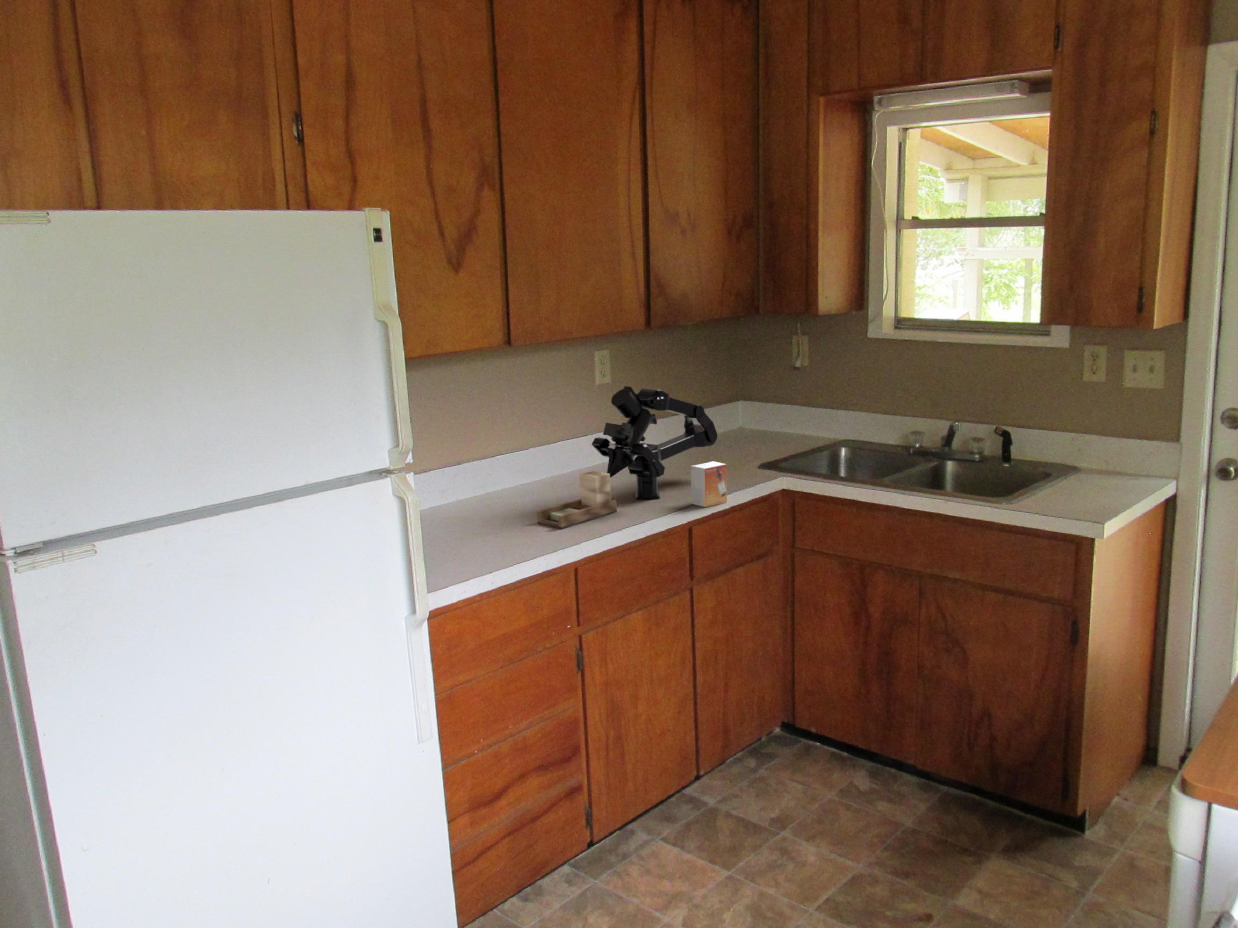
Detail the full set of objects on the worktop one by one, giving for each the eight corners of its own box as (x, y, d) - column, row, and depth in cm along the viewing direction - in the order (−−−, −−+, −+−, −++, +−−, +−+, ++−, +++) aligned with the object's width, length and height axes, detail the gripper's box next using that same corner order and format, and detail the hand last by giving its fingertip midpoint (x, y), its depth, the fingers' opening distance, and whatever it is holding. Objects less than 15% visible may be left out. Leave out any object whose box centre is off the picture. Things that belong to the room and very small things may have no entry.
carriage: (594, 500, 274) (593, 470, 272) (611, 503, 270) (609, 473, 268) (581, 504, 270) (579, 474, 269) (597, 507, 266) (596, 477, 265)
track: (592, 507, 276) (592, 495, 275) (616, 512, 270) (616, 500, 269) (537, 523, 262) (537, 511, 262) (562, 529, 256) (561, 516, 255)
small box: (704, 508, 270) (703, 468, 268) (691, 504, 275) (690, 465, 272) (727, 502, 275) (727, 463, 273) (713, 498, 279) (713, 460, 277)
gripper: (594, 407, 279) (567, 455, 273) (645, 413, 266) (617, 463, 261) (616, 431, 286) (590, 478, 281) (667, 438, 273) (640, 487, 268)
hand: (608, 476), depth 272 cm, fingers closed
